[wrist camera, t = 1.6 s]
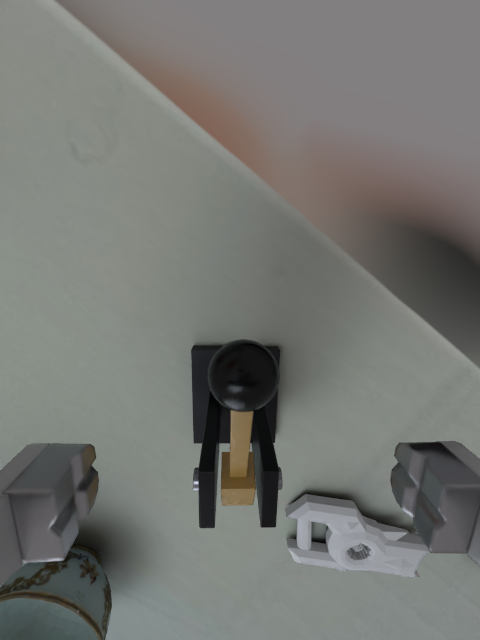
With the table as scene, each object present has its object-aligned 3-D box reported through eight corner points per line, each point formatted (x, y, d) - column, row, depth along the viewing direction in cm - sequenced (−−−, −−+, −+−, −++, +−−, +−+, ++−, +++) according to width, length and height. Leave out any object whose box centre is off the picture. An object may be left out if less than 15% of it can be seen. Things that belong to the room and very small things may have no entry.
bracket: (192, 345, 30) (162, 424, 16) (278, 346, 30) (315, 424, 17) (195, 436, 33) (170, 568, 19) (273, 436, 33) (302, 565, 20)
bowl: (151, 556, 37) (130, 638, 29) (92, 615, 39) (58, 707, 31) (58, 502, 34) (7, 577, 26) (1, 569, 36) (-61, 656, 29)
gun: (450, 531, 32) (422, 594, 35) (431, 505, 36) (407, 563, 38) (292, 508, 32) (275, 573, 35) (288, 483, 35) (273, 544, 38)
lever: (208, 324, 13) (203, 380, 10) (278, 325, 13) (289, 380, 11) (215, 464, 22) (213, 512, 19) (257, 463, 22) (260, 511, 19)
